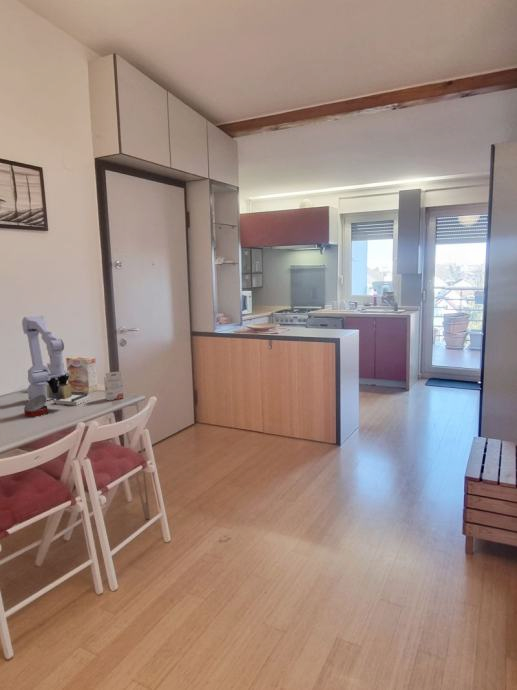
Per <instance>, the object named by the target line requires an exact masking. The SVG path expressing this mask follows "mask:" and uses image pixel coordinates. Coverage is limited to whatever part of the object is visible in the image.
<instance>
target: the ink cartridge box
mask: <svg viewBox="0 0 517 690" xmlns="http://www.w3.org/2000/svg"><path fill="white" fill-rule="evenodd" d="M104 376H105V377H103V379H104V394H105V397H104V398H105V400H106V399H107V400H109V401H114V399H116V400H121V399H120V398H123V399H124V387H123V384H124V383H123V375H122V371H112V372H106V373H105V375H104ZM107 400H106V401H107Z"/></svg>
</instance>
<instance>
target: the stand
mask: <svg viewBox="0 0 517 690" xmlns="http://www.w3.org/2000/svg"><path fill="white" fill-rule="evenodd" d="M71 396H72V397H69V398H67V399H54V398H53V399H52V400H53V404H54V403H56V404H55V405H64V404H68V405H67V406H79V405H81V404H80V403H82V404H84V403H86V402H85V401H87V400H89V401H90V399H91V395H88V393H83V394H82V395H78V394H74V392H71ZM91 400H92V399H91ZM83 402H84V403H83ZM87 402H88V401H87ZM78 404H79V405H78Z"/></svg>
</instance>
